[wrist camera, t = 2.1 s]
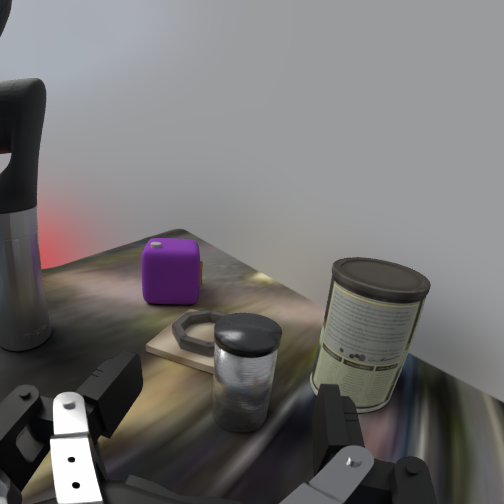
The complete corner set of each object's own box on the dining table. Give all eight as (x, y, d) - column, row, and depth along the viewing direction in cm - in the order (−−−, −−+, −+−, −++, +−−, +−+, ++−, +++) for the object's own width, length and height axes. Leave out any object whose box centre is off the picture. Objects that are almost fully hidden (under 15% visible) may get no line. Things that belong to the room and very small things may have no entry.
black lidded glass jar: (202, 423, 25) (202, 335, 22) (223, 390, 30) (228, 308, 27) (258, 440, 23) (273, 353, 21) (273, 403, 28) (287, 320, 26)
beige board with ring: (146, 351, 35) (144, 334, 34) (189, 314, 46) (189, 299, 45) (237, 380, 32) (238, 363, 31) (264, 332, 43) (266, 317, 42)
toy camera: (192, 277, 61) (194, 229, 59) (209, 306, 49) (212, 247, 47) (139, 279, 57) (139, 229, 55) (144, 310, 45) (142, 249, 42)
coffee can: (301, 361, 36) (321, 253, 33) (374, 359, 37) (401, 260, 33) (318, 417, 26) (353, 289, 23) (405, 408, 27) (450, 292, 23)
